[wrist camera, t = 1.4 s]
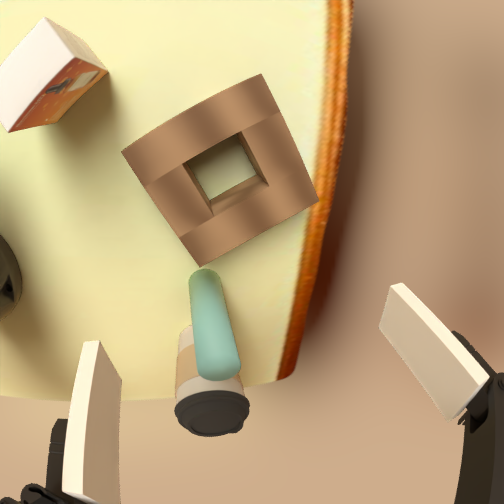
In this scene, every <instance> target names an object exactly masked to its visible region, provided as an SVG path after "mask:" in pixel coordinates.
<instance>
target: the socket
mask: <svg viewBox="0 0 504 504" xmlns="http://www.w3.org/2000/svg"><path fill="white" fill-rule="evenodd" d="M234 134H236V135H237V137H238V139H239V140H240V142H241V144H242V146H243V148H244V150H245V152H246V154H247V156H248V158H249V159H250V161H251V163H252V165H253V167H254V169H255V171H256V173H257V174H256V175H255V176H253V177H251V178H249V179H247V180H245V181H244V182H242V183H240V184H238V185H236V186H234V187H233V188H231V189H229V190H227V191H226V192H224V193H222V194H220V195H218V196H217V197H215V198H213V199H211V200H210V201H209V199H208V197H207V196H206V194H205V192H204V191H203V189H202V187H201V186H200V184H199V182H198V181H197V179H196V177H195V176H194V174H193V173H192V171H191V169H190V168H189V166H188V164H187V163H186V161H188V160H189V159H191V158H193V157H194V156H196V155H198V154H200V153H201V152H203V151H205V150H207V149H208V148H210V147H212V146H214V145H216V144H217V143H219V142H221V141H223V140H225V139H227V138H229V137H230V136H232V135H234ZM121 153H122V154H123V156H124V157H125V159H126V160H127V162H128V164H129V165H130V167H131V168H132V170H133V171H134V173H135V174H136V176H137V177H138V179H139V180H140V182H141V183H142V185H143V186H144V188H145V190H146V191H147V193H148V194H149V195H150V197H151V198H152V200H153V201H154V203H155V204H156V206H157V207H158V209H159V210H160V212H161V213H162V215H163V216H164V218H165V219H166V220H167V222H168V223H169V225H170V226H171V228H172V229H173V231H174V232H175V233H176V235H177V236H178V238H179V239H180V240H181V242H182V243H183V245H184V246H185V247H186V249H187V250H188V252H189V253H190V254H191V256H192V257H193V259H194V260H195V261H196V263H197V264H198V265H199V267H201V266H203V265H205V264H207V263H209V262H210V261H212V260H214V259H216V258H217V257H219V256H221V255H223V254H225V253H226V252H228V251H230V250H232V249H234V248H235V247H237V246H239V245H241V244H242V243H244V242H246V241H248V240H250V239H251V238H253V237H255V236H257V235H259V234H260V233H262V232H264V231H266V230H268V229H269V228H271V227H273V226H275V225H277V224H279V223H280V222H282V221H284V220H286V219H288V218H289V217H291V216H293V215H295V214H297V213H298V212H300V211H302V210H304V209H306V208H308V207H309V206H311V205H313V204H315V203H317V202H319V199H318V196H317V194H316V191H315V189H314V187H313V184H312V182H311V179H310V177H309V174H308V172H307V170H306V167H305V165H304V163H303V160H302V158H301V156H300V153H299V151H298V149H297V147H296V144H295V142H294V140H293V138H292V136H291V133H290V131H289V129H288V127H287V125H286V123H285V120H284V118H283V116H282V114H281V112H280V110H279V108H278V106H277V104H276V102H275V100H274V98H273V96H272V94H271V92H270V90H269V88H268V86H267V84H266V82H265V80H264V78H263V76H262V74H259V75H256V76H254V77H251V78H249V79H247V80H244V81H242V82H240V83H238V84H236V85H234V86H232V87H230V88H227V89H225V90H223V91H221V92H219V93H217V94H215V95H213V96H211V97H210V98H208V99H206V100H204V101H202V102H200V103H198V104H196V105H194V106H193V107H191V108H189V109H187V110H185V111H184V112H182V113H180V114H178V115H177V116H175V117H173V118H172V119H170V120H168V121H167V122H165V123H163V124H162V125H160V126H158V127H157V128H155V129H154V130H152V131H150V132H149V133H147V134H146V135H144V136H143V137H141V138H140V139H138V140H137V141H135V142H134V143H132V144H131V145H129V146H128V147H127V148H125V149H124V150H123V151H121Z"/></svg>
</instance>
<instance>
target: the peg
mask: <svg viewBox="0 0 504 504" xmlns="http://www.w3.org/2000/svg"><path fill="white" fill-rule="evenodd" d="M189 293H190V305H191V317H192V327H193V337H194V347H195V356H196V364H197V372H198V374H199V375H200V376H201V377H202V378H204V379H206V380H210V381H223V380H227V379H229V378H232V377H233V376H235V375H236V374H237V373H238V372H239V370H240V368H241V363H240V359H239V355H238V351H237V347H236V343H235V340H234V336H233V332H232V328H231V324H230V320H229V316H228V312H227V307H226V303H225V299H224V295H223V291H222V287H221V282H220V278H219V276H218V275H217V273H215V272H214V271H212V270H209V269H201V270H198V271H196V272H194V273H193V274H192V275H191V277H190V279H189Z"/></svg>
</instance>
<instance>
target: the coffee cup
mask: <svg viewBox="0 0 504 504" xmlns="http://www.w3.org/2000/svg"><path fill="white" fill-rule="evenodd" d="M175 397H176V402H177V403H176V407H175V410H174V411H175V415H176V417H177V418H178V422H179V423H180V424H181V425H182V426H183V427H184V428H186V429H188V430H189V431H190V432H191V433H193V434H195V435H198V436H204V437H214V436H221V435H225V434H228V433H237V432H238V431H240V430H241V429H242V427H243V423H244V420H245V419H246V418H247V417H248V415H249V407H250V404H249V401H248V399H247V398H246V397H245V395H244V392H243V386H242V383H241V380H240V377H239V375H238V373H237V374H236V375H235V376H233V377H232V378H229V379H227V380H223V381H210V380H206V379H204V378H202V377H201V376H200V375H199V374H198V372H197V364H196V356H195V347H194V337H193V327H192V325H190V326H188V327H187V328H185V329H184V330H183V331H182V332H181V334H180V336H179V346H178V357H177V366H176V384H175Z"/></svg>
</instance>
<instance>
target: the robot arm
mask: <svg viewBox="0 0 504 504" xmlns="http://www.w3.org/2000/svg"><path fill="white" fill-rule="evenodd" d="M21 290H22V280H21V274H20V270H19V266H18V264H17V261H16V259H15V256H14V254H13V252H12V251H11V249H10V247H9V246H8V244H7V243H6V241H5V240H4V239H3V238H2V236H1V235H0V321H1V320H2V319H4V318H5V317H6V316H8V315H9V314H10V313H11V312H12V310H13V309H14V307H15V305H16V304H17V302H18V300H19V298H20V295H21ZM378 328H379V329H380V330H381V332H382V333H383V334H384V336H385V337H386V338H387V339H388V341H389V342H390V343H391V345H392V346H393V347H394V349H395V350H396V351H397V353H398V354H399V355H400V356H401V358H402V359H403V361H404V362H405V363H406V364H407V366H408V367H409V368H410V370H411V371H412V373H413V374H414V375H415V377H416V378H417V380H418V381H419V382H420V384H421V385H422V386H423V388H424V389H425V391H426V392H427V393H428V395H429V396H430V398H431V399H432V400H433V402H434V403H435V405H436V406H437V407H438V409H439V410H440V412H441V413H442V415H443V416H444V417H445V419H446V421H447V422H449V421H451V420H452V419H454V418H455V417H456V416H458V415H459V414H460V413H461V412H462V411H463V410H464V408H465V407H466V408H467V411H466V413H464V415H463V416H462V417H461V418H460V419H459V421H458V425H459V424H461V423H462V422H463V421H464V420H465V421H464V423H463V424H462V425H465V432H464V445H463V455H462V463H461V469H460V476H459V482H458V488H457V493H456V497H455V502H454V504H504V373H498V374H497V373H496V372H495V371H494V370H493V369H492V368H491V367H490V366H489V365H488V364H487V362H486V361H485V360H484V359H483V358H482V357H481V355H480V354H479V353H478V352H477V351H475V349H474V348H473V346H472V345H470V343H469V342H468V341H467V340H466V339H465V338H464V337H463V336H462V335H460V334H459V333H457V332H456V331H452V332H450V331H449V330H448V329H447V328H446V327H445V326H444V324H443V323H442V322H441V321H440V320H439V319H438V318H437V317H436V316H435V315H434V314H433V313H432V312H431V311H430V310H429V309H428V308H427V307H426V306H425V305H424V304H423V303H422V302H421V301H420V300H419V299H418V298H417V297H416V296H415V295H414V294H413V293H412V292H411V291H410V290H409V289H408V288H407V287H406V286H405V285H404V284H403V283H399V284H395V285H392V286H390V289H389V293H388V296H387V300H386V304H385V307H384V311H383V314H382V318H381V321H380V324H379V327H378ZM121 385H122V380H121V378H120V376H119V375H118V373H117V371H116V369H115V368H114V366H113V364H112V362H111V361H110V359H109V357H108V355H107V353H106V352H105V350H104V348H103V346H102V344H101V342H100V340H99V341H88V342H84V344H83V348H82V352H81V356H80V360H79V365H78V369H77V374H76V379H75V384H74V389H73V394H72V399H71V405H70V412H69V418H68V419H57V421H56V423H55V425H54V427H53V428H52V433H51V441H50V442H51V444H50V447H49V452H50V453H49V456H48V465H47V476H46V488H43V487H42V486H40V485H38V484H33V483H31V484H28V485H26V486H25V487H24V488H23V489H22V492H21V501H19V502H18V501H16V500H14V499H12V498H10V497H4V498H3V499H1V500H0V504H121V501H120V484H119V418H120V399H121Z"/></svg>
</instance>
